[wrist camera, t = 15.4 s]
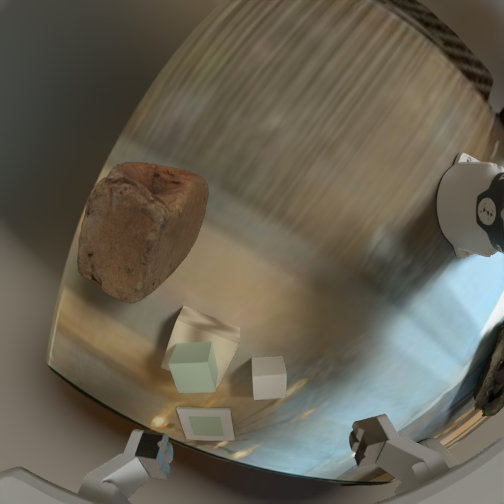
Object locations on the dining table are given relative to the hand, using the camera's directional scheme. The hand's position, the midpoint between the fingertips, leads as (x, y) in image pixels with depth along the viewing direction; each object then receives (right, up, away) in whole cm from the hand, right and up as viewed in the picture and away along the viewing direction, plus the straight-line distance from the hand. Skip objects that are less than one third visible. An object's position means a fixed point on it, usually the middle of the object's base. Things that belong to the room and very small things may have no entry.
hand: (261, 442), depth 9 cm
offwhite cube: (+2, -11, +33) cm, 34 cm away
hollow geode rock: (+62, -19, +36) cm, 74 cm away
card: (-9, -25, +35) cm, 44 cm away
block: (-10, +14, +27) cm, 32 cm away
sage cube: (-8, -7, +26) cm, 28 cm away
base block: (-8, -5, +31) cm, 33 cm away
